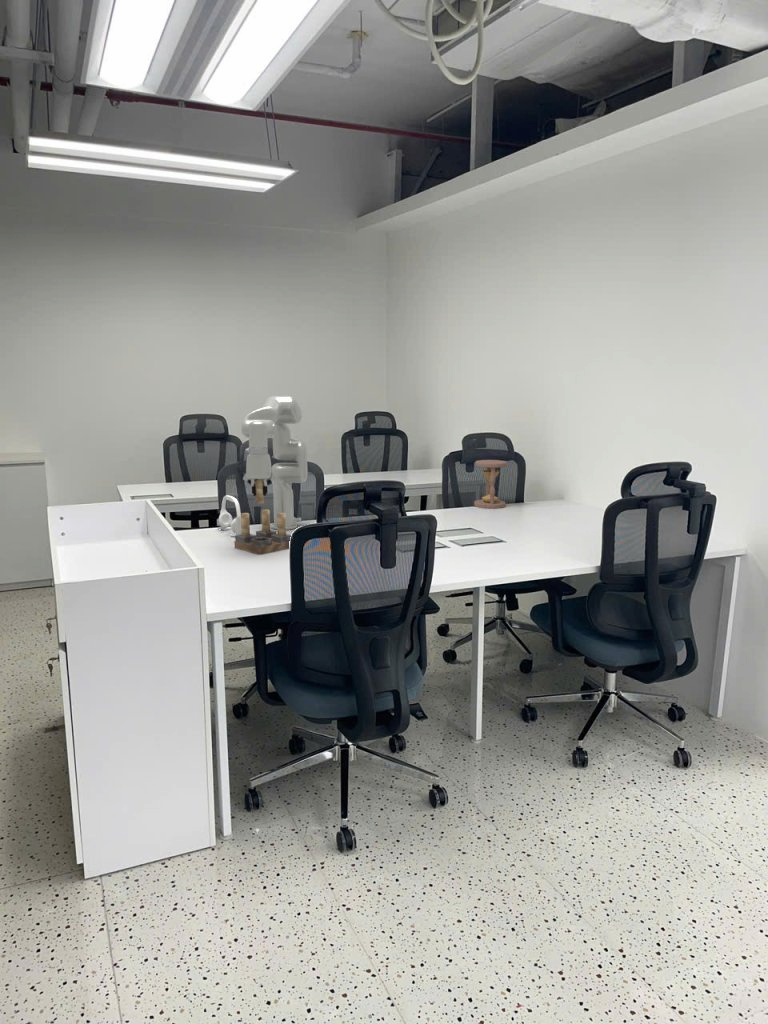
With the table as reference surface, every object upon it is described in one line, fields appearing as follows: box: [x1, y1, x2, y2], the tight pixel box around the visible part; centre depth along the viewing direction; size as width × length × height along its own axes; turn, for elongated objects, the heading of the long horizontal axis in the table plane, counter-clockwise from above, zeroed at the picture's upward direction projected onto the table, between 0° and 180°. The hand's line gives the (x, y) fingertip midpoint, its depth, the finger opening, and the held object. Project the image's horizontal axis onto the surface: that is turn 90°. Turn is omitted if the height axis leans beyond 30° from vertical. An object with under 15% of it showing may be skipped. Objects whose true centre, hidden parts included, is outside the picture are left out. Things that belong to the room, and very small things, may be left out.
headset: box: [216, 494, 241, 535], centre depth 352 cm, size 20×7×18 cm, turn 33°
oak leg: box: [254, 479, 265, 504], centre depth 313 cm, size 4×4×12 cm
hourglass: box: [473, 459, 508, 510], centre depth 421 cm, size 18×18×25 cm
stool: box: [233, 509, 292, 556], centre depth 325 cm, size 18×18×15 cm
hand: (259, 494), depth 313 cm, fingers closed on oak leg, 3 cm apart
